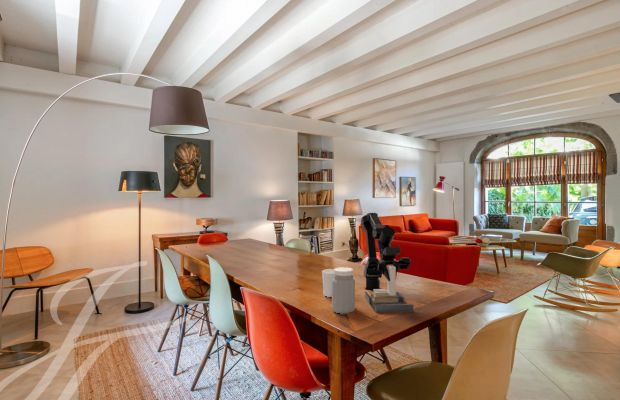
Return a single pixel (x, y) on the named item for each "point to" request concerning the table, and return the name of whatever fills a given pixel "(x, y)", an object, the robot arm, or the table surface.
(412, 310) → the rack
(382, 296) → the offcut stack
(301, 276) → the table surface
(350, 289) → the jar
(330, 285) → the white cylinder
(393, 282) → the cream rectangular block
